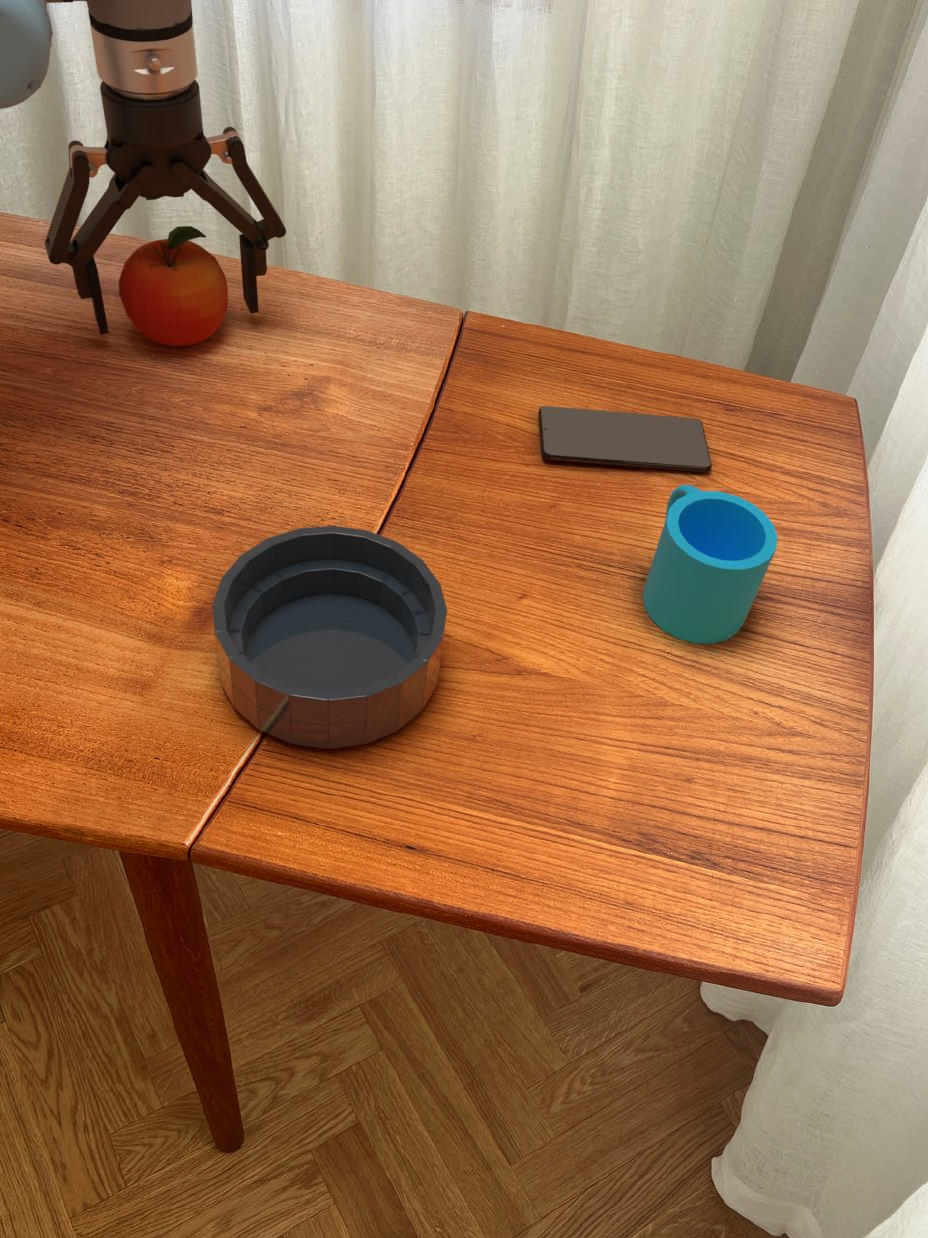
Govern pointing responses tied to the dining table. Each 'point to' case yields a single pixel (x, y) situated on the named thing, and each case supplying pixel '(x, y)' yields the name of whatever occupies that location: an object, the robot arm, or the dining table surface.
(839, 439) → the dining table surface
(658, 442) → the smartphone
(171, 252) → the fruit
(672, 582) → the mug
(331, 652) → the bowl
